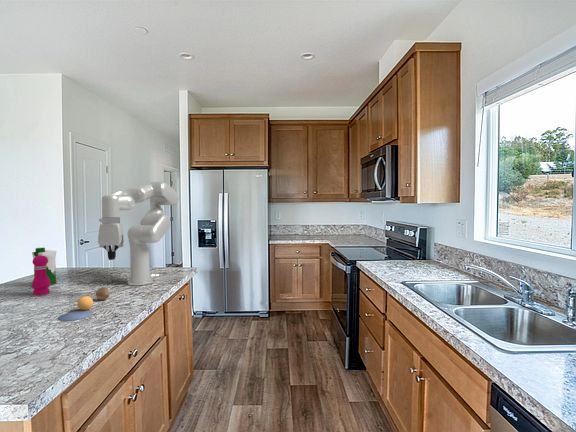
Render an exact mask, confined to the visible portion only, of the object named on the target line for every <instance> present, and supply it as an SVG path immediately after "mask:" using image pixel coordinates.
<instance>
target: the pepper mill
mask: <svg viewBox="0 0 576 432" xmlns="http://www.w3.org/2000/svg"><path fill="white" fill-rule="evenodd" d="M47 263H48V258H47V257H46V256H42V253H41V252H40V253H38V256H36V257H35V258H34V259H32V265H33V270H34V269H35V277H33V279H32V282H31V288H32V289H33V291H32V294H33V295H32V296H43V295H48V294H49V293H50V288H49V287H50V286H51V285H50V280H49V278H48V276H47V274H46V268H47V265H46V264H47ZM34 265H35V266H34Z"/></svg>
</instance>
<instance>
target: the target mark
mask: <svg viewBox="0 0 576 432" xmlns="http://www.w3.org/2000/svg"><path fill="white" fill-rule="evenodd" d="M92 314H93V312H92V311H90V310H75V311H71V312H67V313H63V314H61V315H59V316H58V317H57V320H58V321H60V320H61V322H71V321H72V320H73V321H78V319H79V320H82V318H83V319H86V318H87V317H90V316H92ZM73 321H72V322H73Z"/></svg>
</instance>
